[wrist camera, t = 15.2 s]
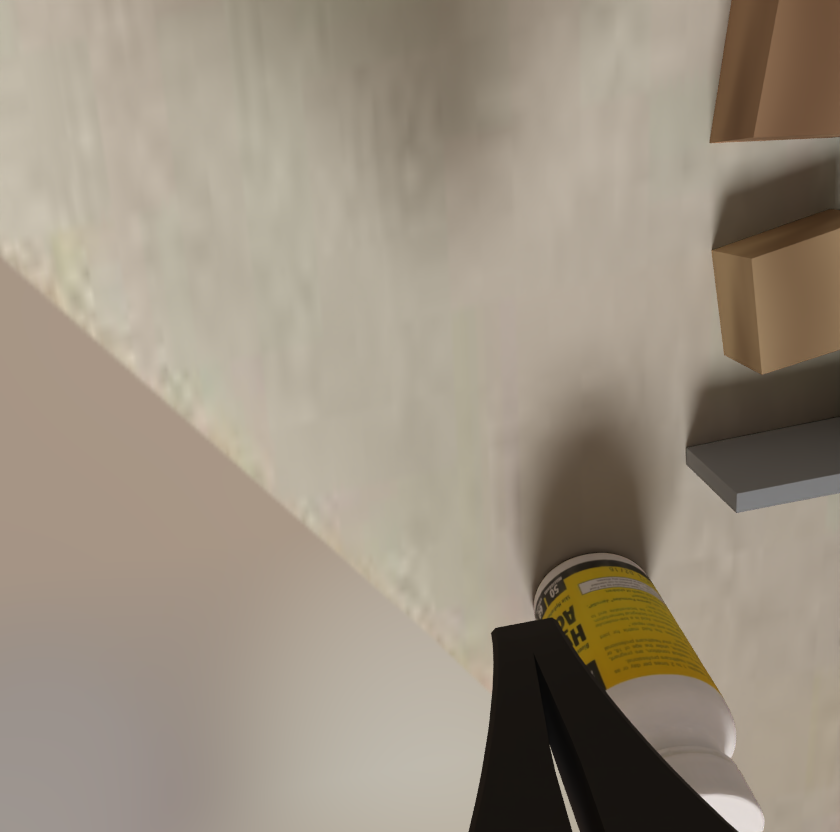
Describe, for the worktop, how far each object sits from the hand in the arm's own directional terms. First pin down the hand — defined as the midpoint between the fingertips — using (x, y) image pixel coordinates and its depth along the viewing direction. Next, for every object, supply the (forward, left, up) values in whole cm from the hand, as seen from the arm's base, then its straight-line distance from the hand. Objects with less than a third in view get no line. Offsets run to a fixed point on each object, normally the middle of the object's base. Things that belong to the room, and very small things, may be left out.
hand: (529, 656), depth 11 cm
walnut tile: (-12, -10, -11) cm, 19 cm away
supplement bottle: (-4, +9, -11) cm, 14 cm away
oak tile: (-12, -4, -11) cm, 16 cm away
